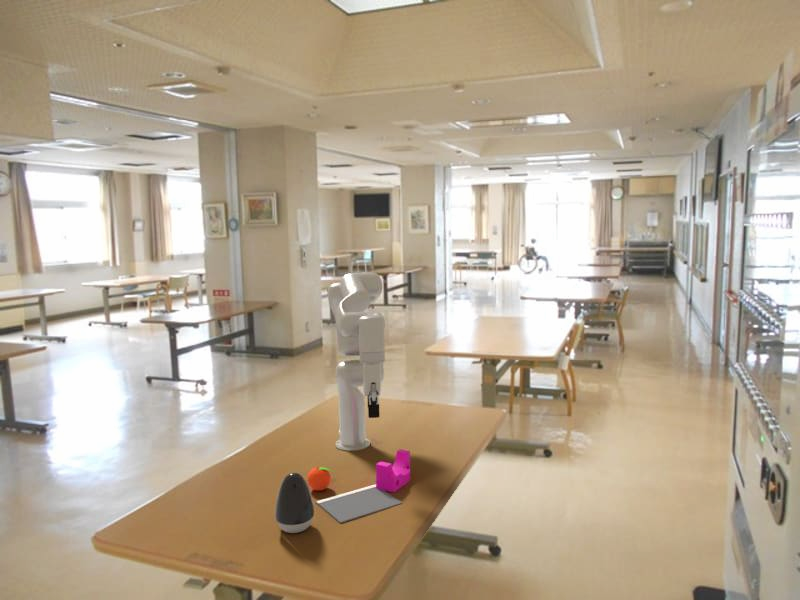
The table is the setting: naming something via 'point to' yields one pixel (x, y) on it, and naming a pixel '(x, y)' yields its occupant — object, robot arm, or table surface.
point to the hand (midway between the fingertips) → (373, 412)
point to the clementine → (319, 478)
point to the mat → (357, 503)
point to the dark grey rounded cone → (294, 504)
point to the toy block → (393, 472)
